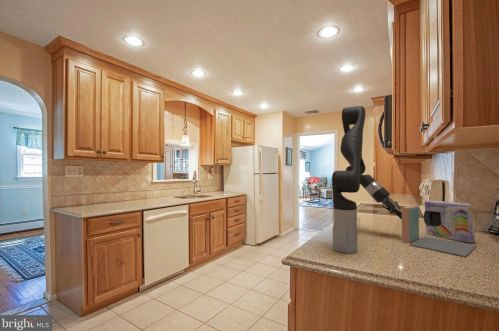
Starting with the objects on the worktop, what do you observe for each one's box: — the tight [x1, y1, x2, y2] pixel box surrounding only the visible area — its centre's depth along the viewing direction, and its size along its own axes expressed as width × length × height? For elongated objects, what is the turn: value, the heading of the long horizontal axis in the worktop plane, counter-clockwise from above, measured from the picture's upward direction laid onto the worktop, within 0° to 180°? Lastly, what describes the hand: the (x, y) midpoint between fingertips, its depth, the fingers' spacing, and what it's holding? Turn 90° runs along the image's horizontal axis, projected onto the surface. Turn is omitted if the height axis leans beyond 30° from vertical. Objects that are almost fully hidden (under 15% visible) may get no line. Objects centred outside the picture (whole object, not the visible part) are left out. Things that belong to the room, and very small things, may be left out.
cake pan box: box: [423, 200, 476, 244], centre depth 115 cm, size 19×5×18 cm, turn 23°
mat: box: [409, 235, 477, 258], centre depth 102 cm, size 20×18×1 cm
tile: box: [401, 204, 420, 244], centre depth 112 cm, size 12×3×16 cm, turn 128°
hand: (404, 218), depth 114 cm, fingers closed
